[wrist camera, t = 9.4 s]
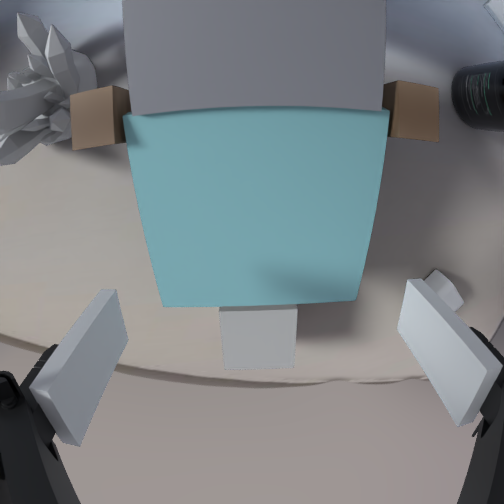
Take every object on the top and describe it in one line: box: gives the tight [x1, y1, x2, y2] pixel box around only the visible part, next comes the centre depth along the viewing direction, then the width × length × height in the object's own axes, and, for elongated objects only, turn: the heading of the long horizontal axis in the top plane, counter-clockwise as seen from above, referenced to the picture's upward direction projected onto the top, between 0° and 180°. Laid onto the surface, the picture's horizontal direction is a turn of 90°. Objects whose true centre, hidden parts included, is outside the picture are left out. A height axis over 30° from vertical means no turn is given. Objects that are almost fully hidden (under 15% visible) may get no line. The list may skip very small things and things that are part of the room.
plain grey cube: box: [219, 304, 298, 370], centre depth 29 cm, size 6×6×7 cm
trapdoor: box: [122, 0, 390, 307], centre depth 18 cm, size 19×13×5 cm
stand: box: [70, 80, 439, 151], centre depth 20 cm, size 5×19×13 cm, turn 91°
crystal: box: [0, 12, 98, 166], centre depth 17 cm, size 10×13×15 cm
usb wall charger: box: [424, 269, 464, 312], centre depth 31 cm, size 4×7×4 cm, turn 135°
